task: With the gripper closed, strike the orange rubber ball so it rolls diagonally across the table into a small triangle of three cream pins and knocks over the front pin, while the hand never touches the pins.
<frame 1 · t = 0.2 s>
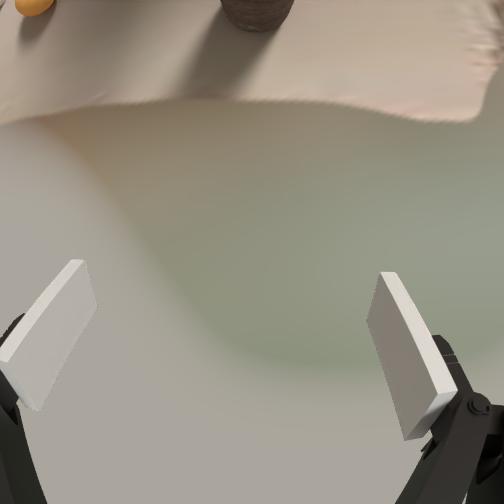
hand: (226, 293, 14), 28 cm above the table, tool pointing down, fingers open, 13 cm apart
rusty brown cylinder: (257, 7, 29), on the table
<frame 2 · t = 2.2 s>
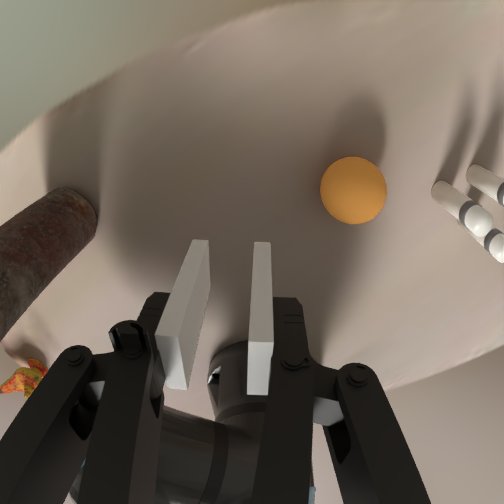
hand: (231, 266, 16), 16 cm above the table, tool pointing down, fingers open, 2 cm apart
rusty brown cylinder: (72, 213, 33), on the table
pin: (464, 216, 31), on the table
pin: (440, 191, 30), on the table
ball: (353, 190, 27), on the table
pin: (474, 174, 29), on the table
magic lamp: (34, 367, 48), on the table
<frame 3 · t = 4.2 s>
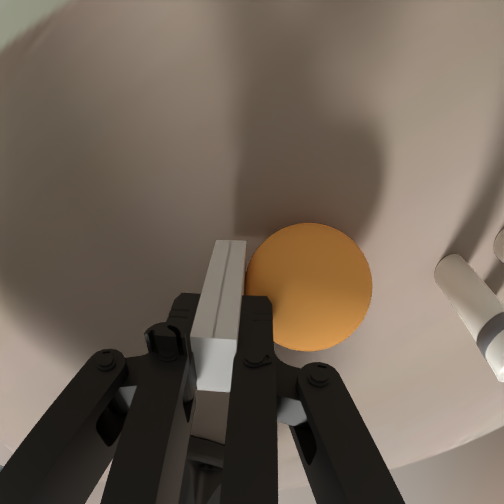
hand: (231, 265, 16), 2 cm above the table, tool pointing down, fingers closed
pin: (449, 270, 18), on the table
ball: (308, 287, 15), on the table, touching gripper
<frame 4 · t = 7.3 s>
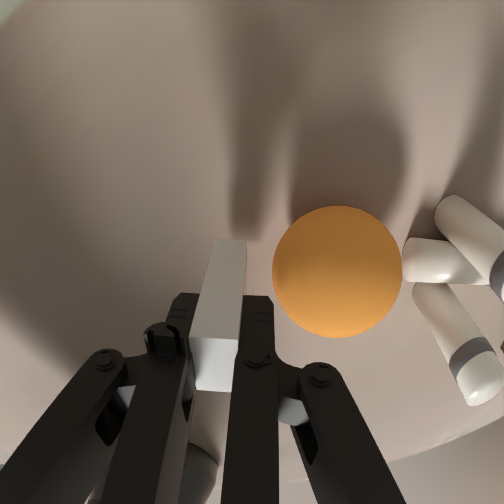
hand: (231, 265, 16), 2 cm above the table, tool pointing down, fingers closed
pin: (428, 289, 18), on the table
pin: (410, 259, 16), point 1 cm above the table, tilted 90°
ball: (337, 271, 15), on the table
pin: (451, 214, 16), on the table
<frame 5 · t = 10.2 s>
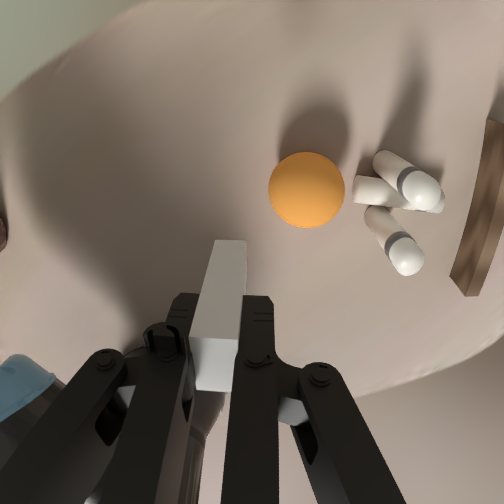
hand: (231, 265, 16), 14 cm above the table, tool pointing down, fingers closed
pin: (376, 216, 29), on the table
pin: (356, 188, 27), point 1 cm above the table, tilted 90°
ball: (306, 189, 25), on the table
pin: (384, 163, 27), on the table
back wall: (478, 203, 28), on the table
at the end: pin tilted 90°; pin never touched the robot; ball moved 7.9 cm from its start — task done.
